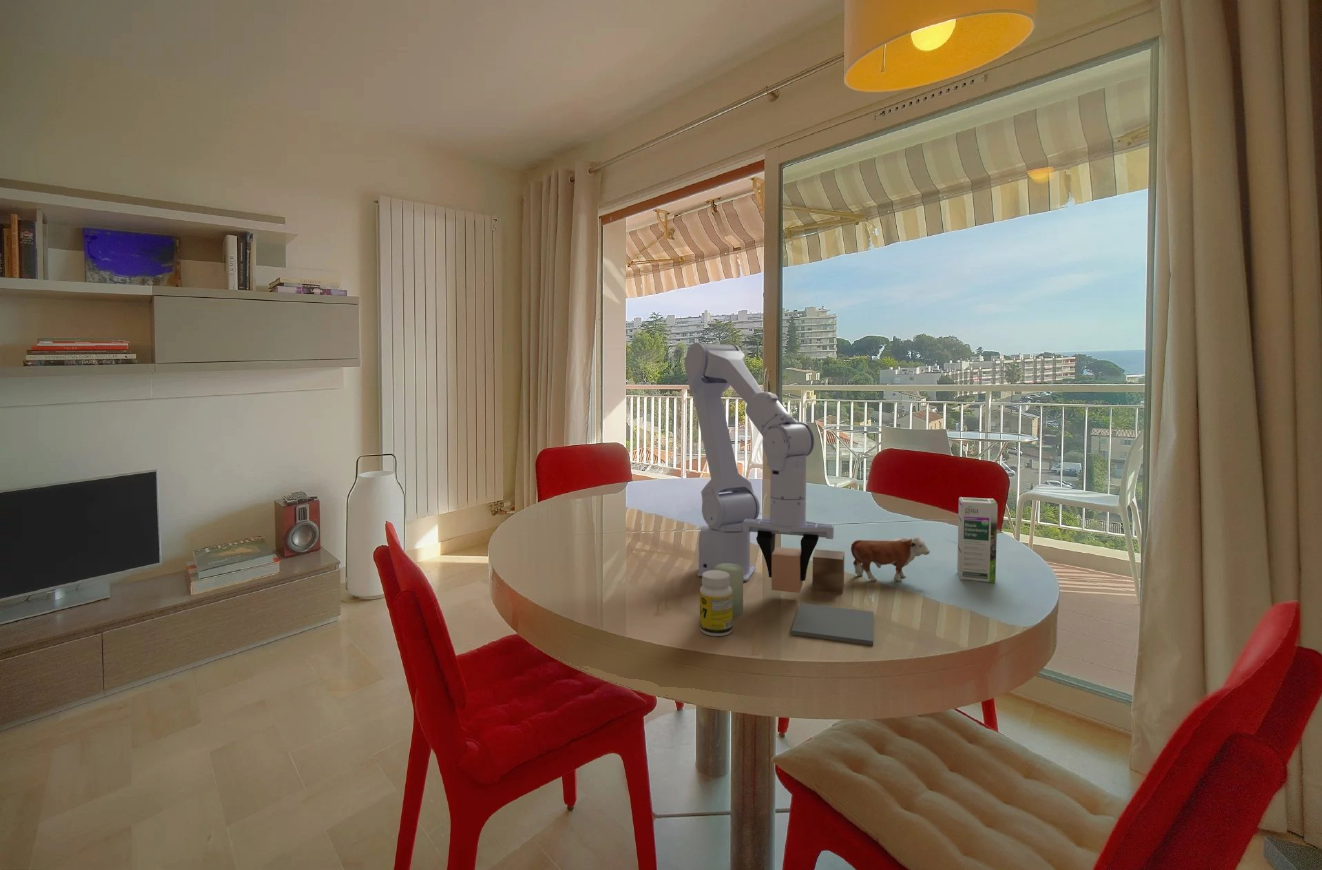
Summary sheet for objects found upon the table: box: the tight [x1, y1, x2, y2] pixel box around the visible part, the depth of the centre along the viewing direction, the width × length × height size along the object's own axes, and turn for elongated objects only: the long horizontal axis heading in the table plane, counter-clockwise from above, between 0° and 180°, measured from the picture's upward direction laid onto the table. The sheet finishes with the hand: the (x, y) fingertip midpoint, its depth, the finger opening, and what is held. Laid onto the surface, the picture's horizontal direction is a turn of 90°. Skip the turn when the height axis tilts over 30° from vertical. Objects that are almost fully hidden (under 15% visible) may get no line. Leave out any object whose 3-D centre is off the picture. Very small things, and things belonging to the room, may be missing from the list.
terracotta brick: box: [771, 546, 804, 594], centre depth 97 cm, size 4×4×6 cm
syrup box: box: [956, 496, 999, 584], centre depth 107 cm, size 6×6×14 cm
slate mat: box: [790, 603, 874, 646], centre depth 86 cm, size 11×11×1 cm
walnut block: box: [811, 548, 845, 595], centre depth 102 cm, size 5×5×6 cm
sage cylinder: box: [715, 563, 744, 617], centre depth 92 cm, size 4×4×7 cm
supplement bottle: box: [699, 570, 734, 637], centre depth 85 cm, size 5×5×8 cm
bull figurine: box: [850, 536, 931, 582], centre depth 106 cm, size 4×13×8 cm, turn 78°
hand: (787, 577), depth 97 cm, fingers closed on terracotta brick, 4 cm apart
